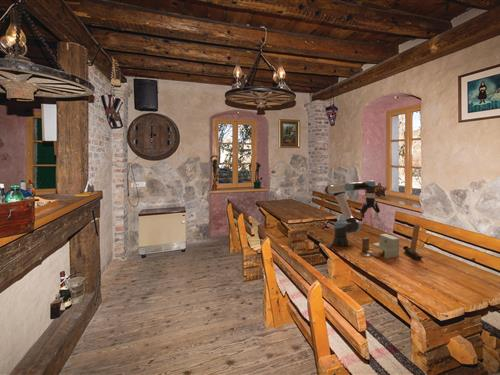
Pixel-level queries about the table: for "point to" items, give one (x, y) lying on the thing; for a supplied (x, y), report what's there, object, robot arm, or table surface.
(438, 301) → the table surface
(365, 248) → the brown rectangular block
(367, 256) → the chrome dome knob
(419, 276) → the table surface
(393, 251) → the plinth shelf
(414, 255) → the hammer
